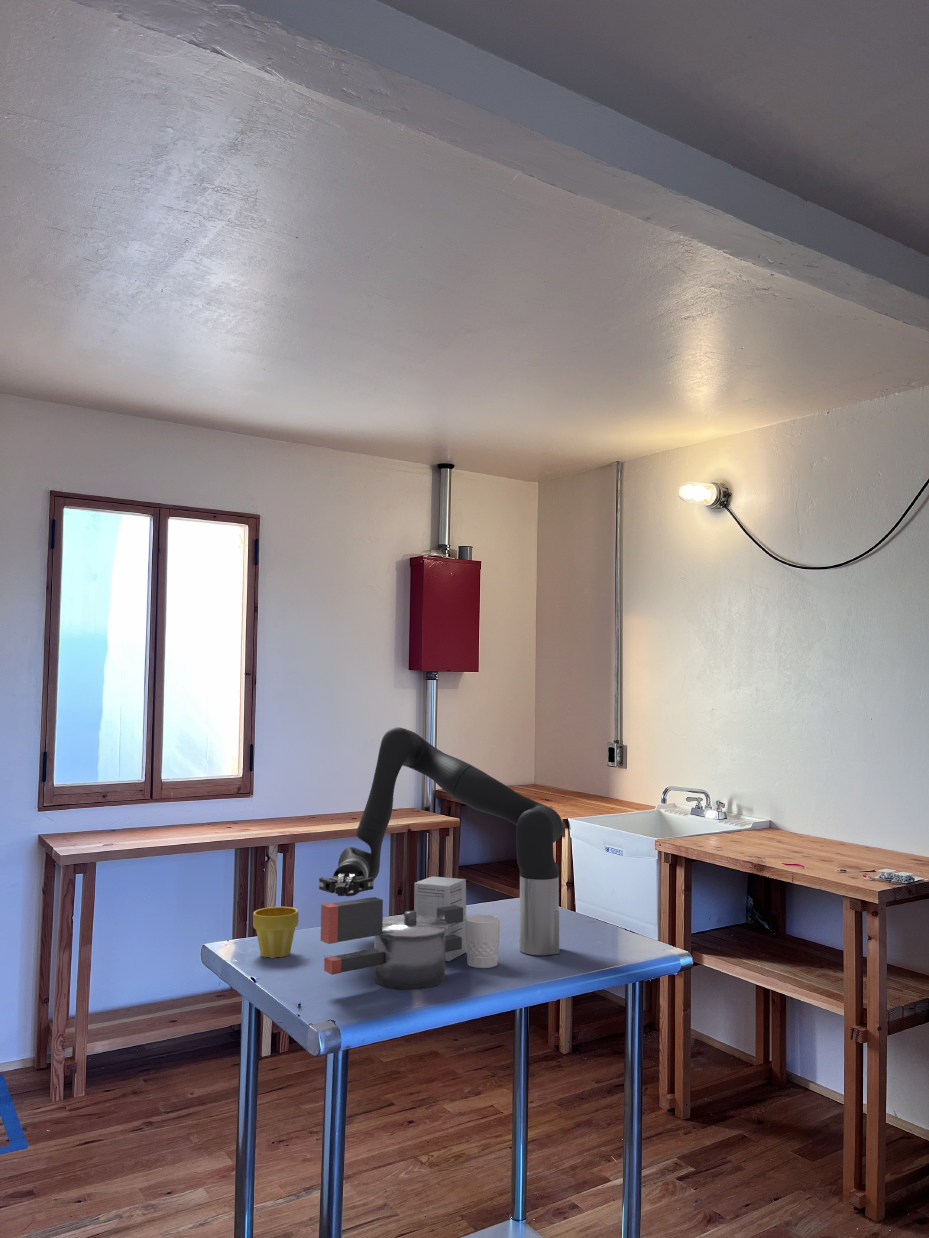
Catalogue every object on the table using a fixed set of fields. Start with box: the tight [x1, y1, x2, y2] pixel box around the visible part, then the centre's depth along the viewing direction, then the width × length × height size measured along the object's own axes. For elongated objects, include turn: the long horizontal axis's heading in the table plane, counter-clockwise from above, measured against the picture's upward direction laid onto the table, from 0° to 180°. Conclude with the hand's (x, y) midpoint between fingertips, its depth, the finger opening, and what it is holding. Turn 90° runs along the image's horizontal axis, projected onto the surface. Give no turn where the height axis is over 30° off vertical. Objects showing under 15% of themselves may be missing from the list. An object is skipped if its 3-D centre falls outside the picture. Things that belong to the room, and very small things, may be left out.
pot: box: [323, 932, 462, 991], centre depth 191 cm, size 27×23×10 cm
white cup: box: [465, 913, 501, 969], centre depth 205 cm, size 8×8×10 cm
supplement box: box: [413, 876, 467, 962], centre depth 212 cm, size 10×9×17 cm
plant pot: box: [252, 906, 299, 959], centre depth 211 cm, size 10×10×10 cm
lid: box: [320, 896, 463, 945], centre depth 192 cm, size 33×16×7 cm, turn 127°
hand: (341, 891), depth 198 cm, fingers closed
